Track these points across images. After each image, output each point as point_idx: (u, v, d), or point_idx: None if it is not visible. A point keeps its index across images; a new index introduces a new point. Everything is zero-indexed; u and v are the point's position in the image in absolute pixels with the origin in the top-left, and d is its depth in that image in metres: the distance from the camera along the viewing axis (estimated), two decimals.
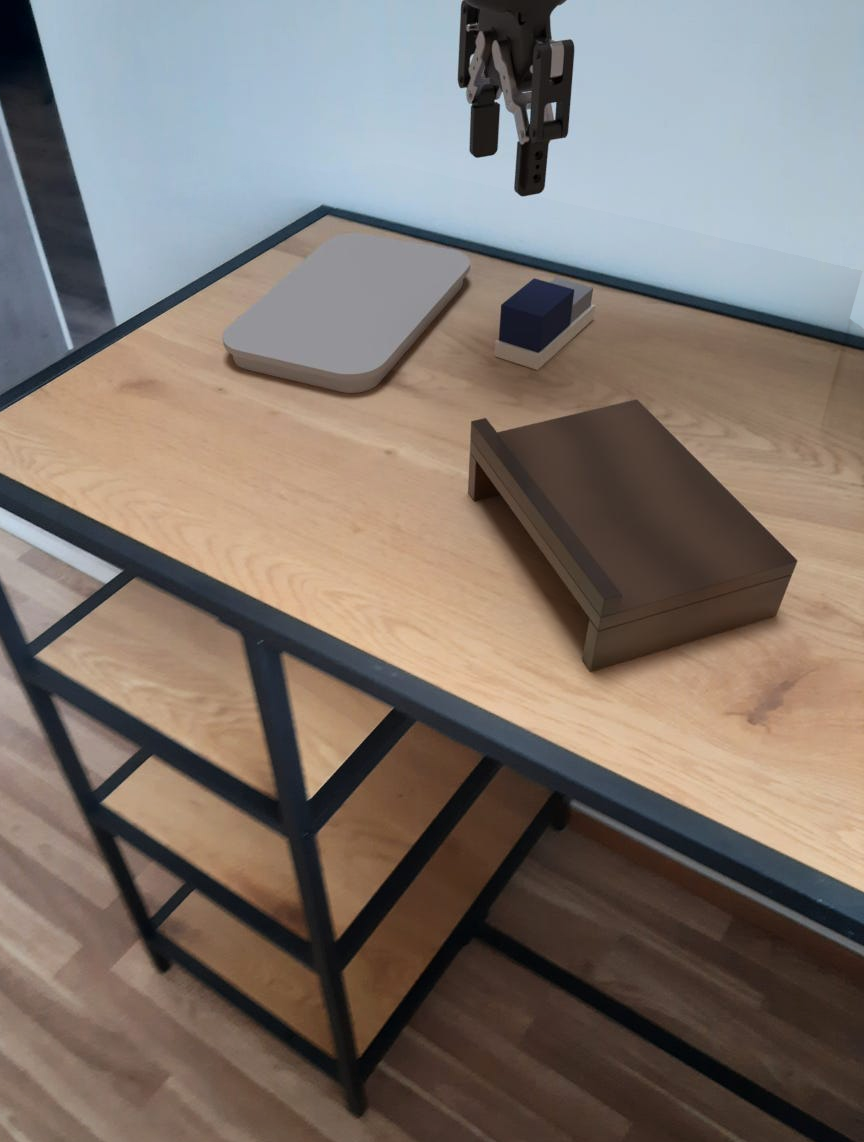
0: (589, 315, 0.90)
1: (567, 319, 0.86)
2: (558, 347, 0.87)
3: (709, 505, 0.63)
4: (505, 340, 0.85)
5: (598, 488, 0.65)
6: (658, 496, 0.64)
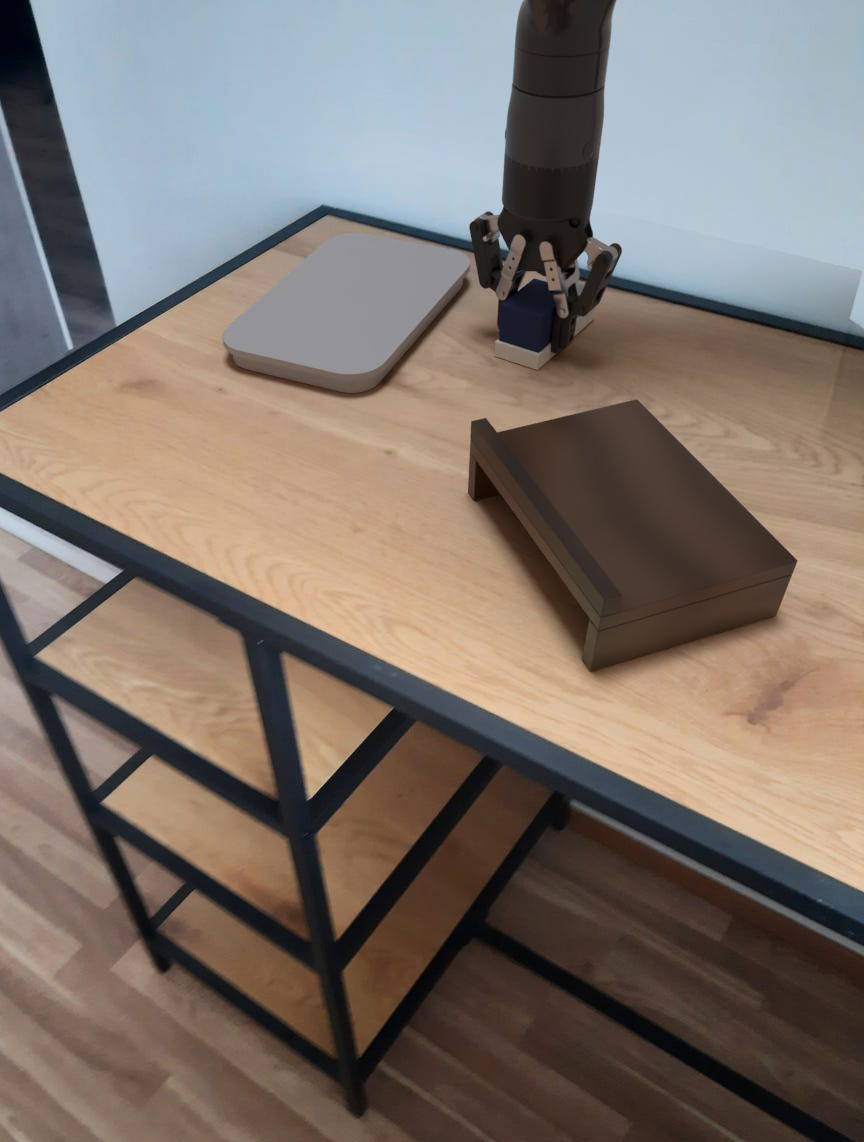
0: (589, 315, 0.90)
1: None
2: None
3: (709, 505, 0.63)
4: (505, 340, 0.85)
5: (598, 488, 0.65)
6: (658, 496, 0.64)
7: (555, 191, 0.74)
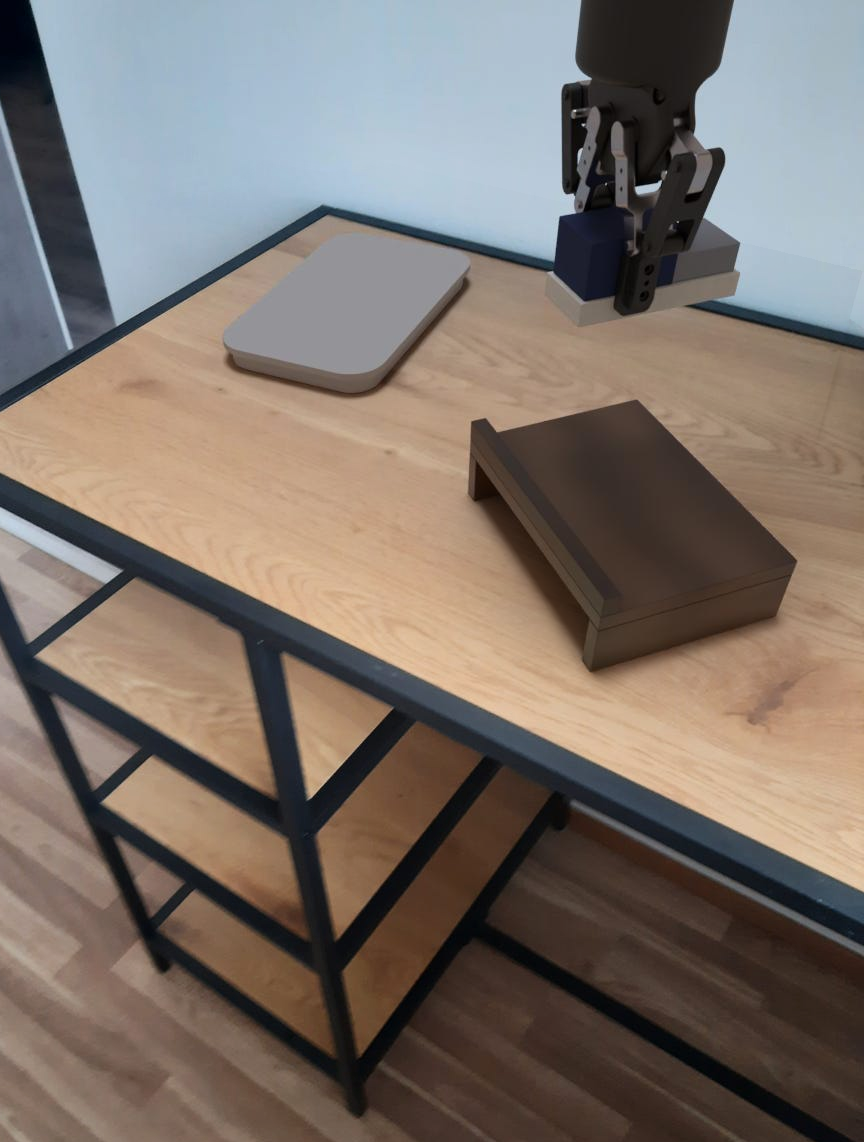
0: (723, 285, 0.58)
1: (663, 272, 0.56)
2: None
3: (709, 505, 0.63)
4: (558, 273, 0.58)
5: (598, 488, 0.65)
6: (658, 496, 0.64)
7: (622, 27, 0.46)
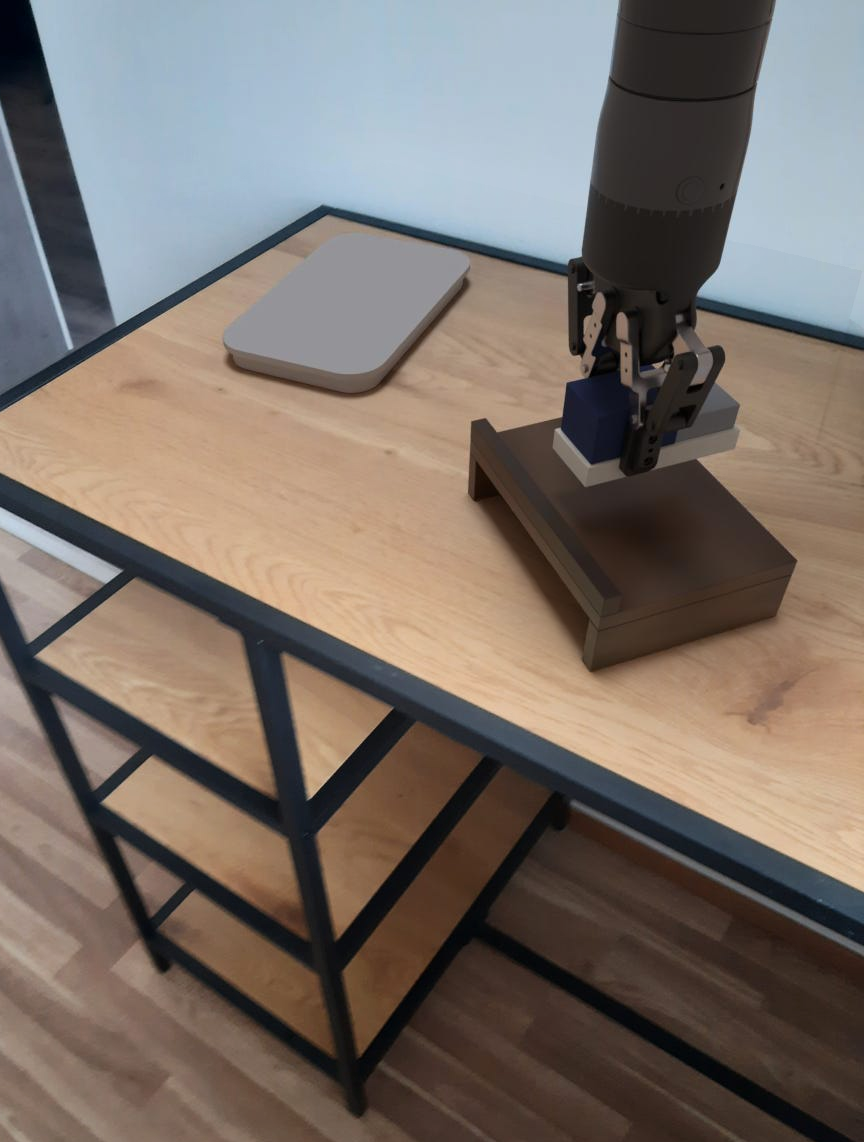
0: (724, 441, 0.61)
1: (666, 434, 0.59)
2: None
3: (709, 505, 0.63)
4: (565, 432, 0.60)
5: (598, 488, 0.65)
6: (658, 496, 0.64)
7: (627, 240, 0.48)
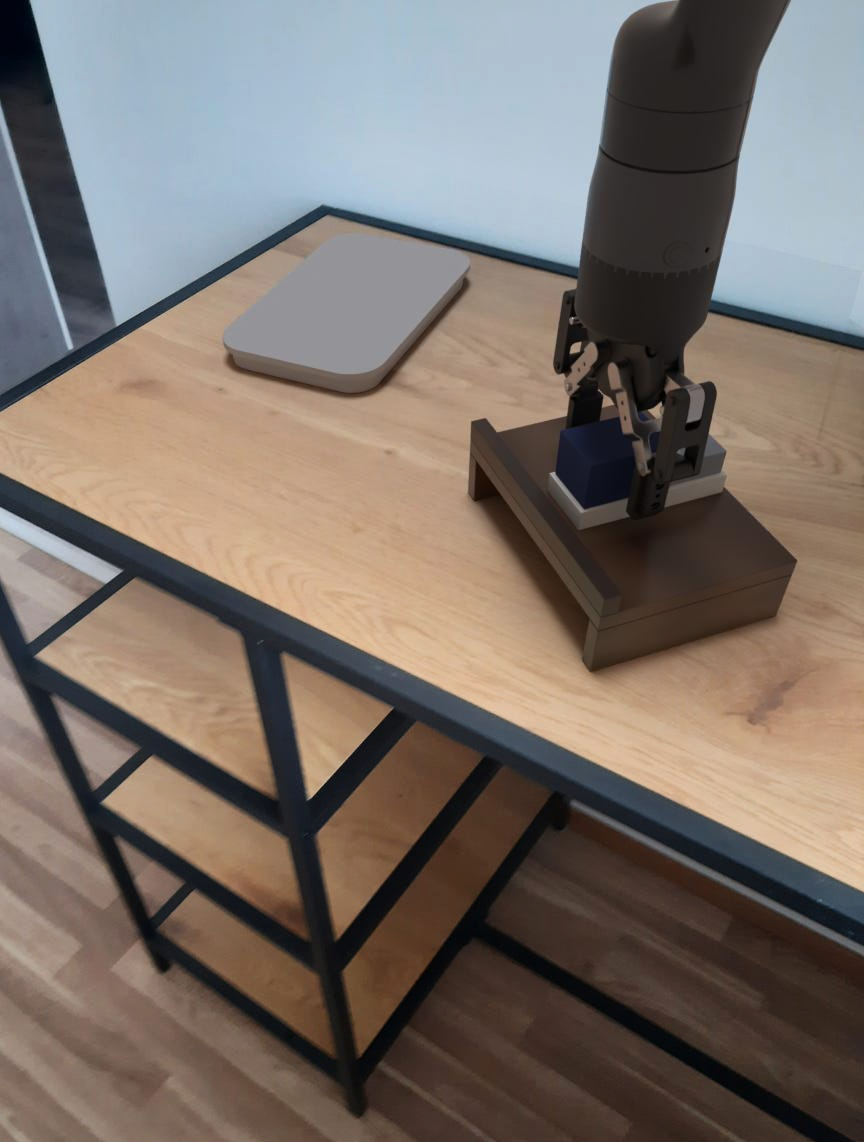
0: (712, 485, 0.63)
1: None
2: None
3: (709, 505, 0.63)
4: (559, 476, 0.63)
5: None
6: None
7: (617, 299, 0.50)
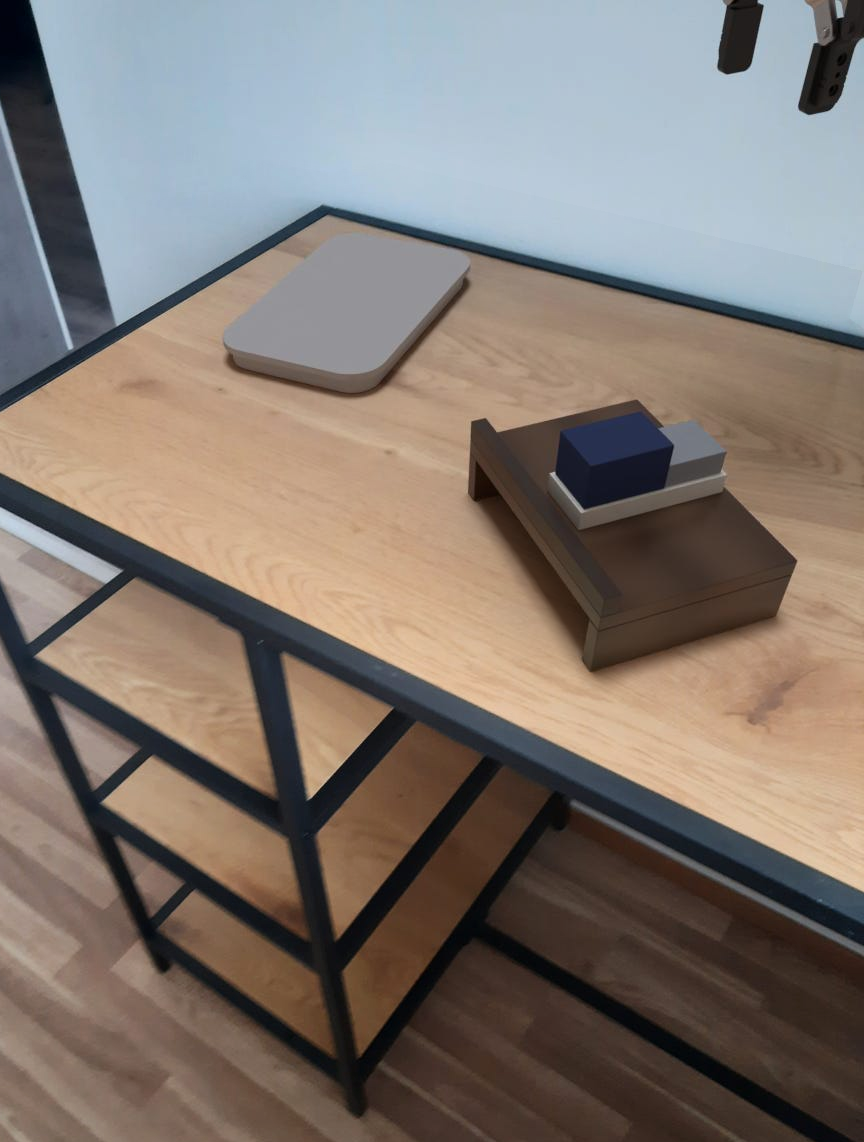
0: (712, 485, 0.63)
1: (656, 480, 0.61)
2: (632, 511, 0.62)
3: (709, 505, 0.63)
4: (559, 476, 0.63)
5: None
6: None
7: None
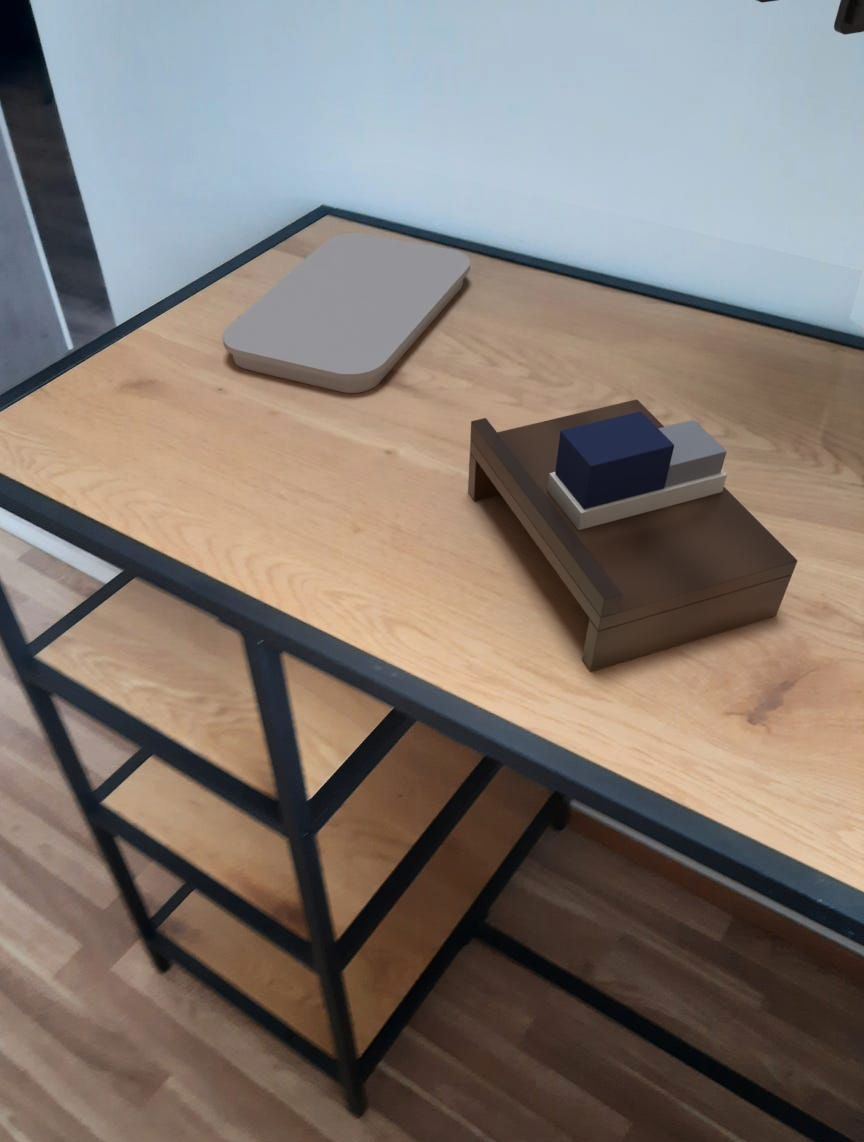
0: (712, 485, 0.63)
1: (656, 480, 0.61)
2: (632, 511, 0.62)
3: (709, 505, 0.63)
4: (559, 476, 0.63)
5: None
6: None
7: None
